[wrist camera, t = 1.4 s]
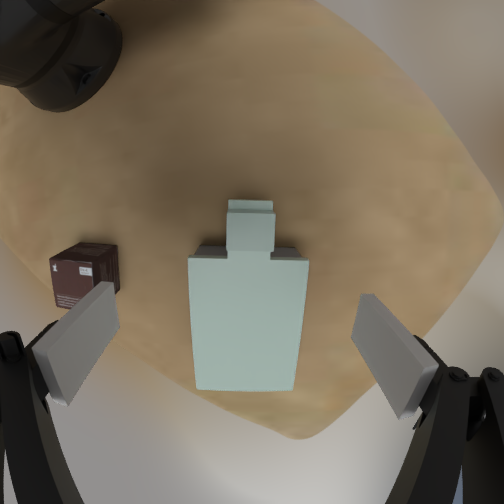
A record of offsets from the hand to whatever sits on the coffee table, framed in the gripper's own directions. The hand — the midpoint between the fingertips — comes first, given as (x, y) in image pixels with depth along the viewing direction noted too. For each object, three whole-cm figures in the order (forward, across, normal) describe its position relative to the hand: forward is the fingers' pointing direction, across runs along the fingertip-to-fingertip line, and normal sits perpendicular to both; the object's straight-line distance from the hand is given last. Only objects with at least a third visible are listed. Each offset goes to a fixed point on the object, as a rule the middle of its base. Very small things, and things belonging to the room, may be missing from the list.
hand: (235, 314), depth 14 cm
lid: (+14, +1, -7) cm, 15 cm away
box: (+19, -18, -5) cm, 27 cm away
